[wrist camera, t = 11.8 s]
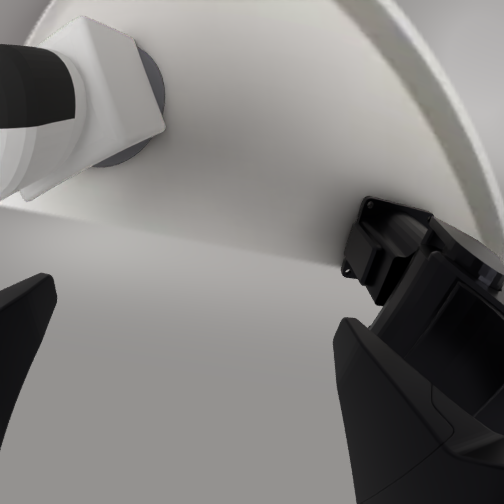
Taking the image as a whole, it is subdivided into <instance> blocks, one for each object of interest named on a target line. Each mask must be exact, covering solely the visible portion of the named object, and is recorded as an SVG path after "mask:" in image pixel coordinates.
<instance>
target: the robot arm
mask: <svg viewBox="0 0 504 504" xmlns="http://www.w3.org/2000/svg"><path fill="white" fill-rule="evenodd" d="M368 202H372V204H371V205H370V206H367V204H368ZM429 216H430V217H429ZM428 217H429V220H427V218H428ZM344 255H345V259H344V262H343V265H342V267H341V273H342V275H343V276H344V277H346V278H354V279H358V280H359V282H360V284H361V285H362V286H366V288H367V290H368V291H369V293H370V295H371V297H372V299H373V300H374V302H375V304H376V305H378V306H383V308H382V310H381V311H380V313H379V314H378V316H377V317H376V319H375V320H374V322H373V323H372V325H371V326H369V327H368V328H367V327H366V326H365V325H363V324H362V323H361V322H360V321H359V320H357V319H356V318H348V317H345V318H343V319H342V320H341V322H340V324H339V327H338V329H337V331H336V333H335V336H334V339H333V350H334V360H335V372H336V383H337V390H338V395H339V400H340V405H341V410H342V416H343V421H344V427H345V433H346V438H347V444H348V450H349V456H350V462H351V468H352V475H353V481H354V488H355V495H356V502H357V504H504V265H503V263H502V261H501V259H500V258H499V257H498V256H497V255H496V254H495V253H493V252H492V251H491V250H490V249H488V248H487V247H486V246H484V245H483V244H482V243H480V242H479V241H478V240H476V239H474V238H473V237H471V236H469V235H467V234H466V233H464V232H462V231H460V230H458V229H456V228H455V227H453V226H451V225H449V224H447V223H445V222H443V221H441V220H439V219H438V218H436V217H434V215H433V214H432V213H431V212H429V211H425V210H421V209H418V208H414V207H410V206H406V205H403V204H399V203H395V202H391V201H387V200H383V199H379V198H375V197H370V196H368V197H365V198H364V199H363V201H362V205H361V208H360V212H359V215H358V218H357V221H356V222H355V223H354V224H353V226H352V229H351V232H350V236H349V239H348V242H347V245H346V248H345V251H344ZM348 269H350V270H349V271H348V272H345V271H346V270H348ZM56 303H57V293H56V289H55V284H54V279H53V277H52V276H51V275H50V274H45V273H39V274H37V275H34V276H32V277H30V278H28V279H25V280H23V281H21V282H19V283H16V284H14V285H12V286H10V287H7V288H5V289H3V290H1V291H0V448H1V445H2V442H3V439H4V436H5V432H6V429H7V426H8V423H9V420H10V417H11V414H12V412H13V409H14V406H15V403H16V401H17V398H18V395H19V393H20V390H21V388H22V385H23V383H24V381H25V378H26V376H27V373H28V371H29V369H30V366H31V364H32V362H33V360H34V357H35V355H36V353H37V351H38V349H39V347H40V344H41V342H42V340H43V337H44V335H45V331H46V329H47V326H48V324H49V321H50V318H51V316H52V313H53V311H54V308H55V306H56ZM0 450H1V449H0Z"/></svg>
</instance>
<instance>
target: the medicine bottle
mask: <svg viewBox="0 0 504 504" xmlns="http://www.w3.org/2000/svg"><path fill="white" fill-rule="evenodd" d="M165 128H166V125H165V122H164V120H163V117H162V115H161V112H160V109H159V107H158V104H157V101H156V99H155V96H154V93H153V91H152V88H151V85H150V83H149V80H148V77H147V75H146V72H145V69H144V66H143V64H142V61H141V58H140V55H139V52H138V50H137V47H136V44H135V41H134V39H133V38H132V37H130V36H128V35H126V34H124V33H122V32H120V31H118V30H116V29H113V28H111V27H109V26H107V25H105V24H102V23H100V22H98V21H95V20H93V19H91V18H88V17H86V16H79V17H77V18H75V19H74V20H72V21H71V22H69V23H68V24H66V25H65V26H63V27H62V28H61V29H59V30H58V31H56V32H55V33H54V34H52V35H51V36H50V37H48V38H47V39H46V40H44V41H43V42H42V43H40V44H39V45H38V46H37V47H29V46H18V45H5V44H0V201H1V200H3V199H5V198H7V197H8V196H10V195H12V194H14V193H15V192H17V191H20V193H21V195H22V198H23V199H24V201H26V202H28V201H31V200H33V199H35V198H36V197H38V196H40V195H41V194H43V193H45V192H46V191H48V190H50V189H51V188H53V187H55V186H57V185H58V184H60V183H62V182H64V181H65V180H67V179H69V178H71V177H73V176H75V175H76V174H78V173H80V172H82V171H84V170H86V169H88V168H89V167H91V166H93V165H95V164H97V163H99V162H101V161H103V160H104V159H106V158H108V157H110V156H112V155H114V154H116V153H118V152H120V151H122V150H124V149H126V148H129V147H131V146H133V145H135V144H137V143H139V142H141V141H144V140H146V139H148V138H150V137H152V136H155V135H157V134H159V133H162V132H163V131H164V130H165Z"/></svg>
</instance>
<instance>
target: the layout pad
mask: <svg viewBox="0 0 504 504" xmlns="http://www.w3.org/2000/svg"><path fill="white" fill-rule="evenodd" d="M137 50H138V52H139V55H140V58H141V61H142V64H143V66H144V69H145V72H146V75H147V77H148V80H149V83H150V85H151V88H152V91H153V93H154V96H155V99H156V101H157V104H158V107H159V109H160V112H161V115H162V114H163V109H164V100H165V92H164V84H163V79H162V76H161V73H160V71H159V69H158V67H157V65H156V63H155V62H154V61H153V59H152V58H151V57H150V56H149V55H148V54H147V53H146V52H144V51H143V50H142V49H140V48H138V47H137ZM151 138H152V137H150V138H148V139H146V140H144V141H141V142H139V143H137V144H135V145H133V146H131V147H129V148H126V149H124V150H122V151H120V152H118V153H116V154H114V155H112V156H110V157H108V158H106V159H104V160H103V161H101V162H99V163H97V164H95V165H93V166H92V167H108V166H113V165H117V164H120V163H122V162H124V161H126V160H128V159H130V158H131V157H133V156H134V155H136V154H137V153H138V152H139V151H141V150H142V149H143V148H144V147H145V146H146V144H147V143H148V142H149V141H150V139H151Z"/></svg>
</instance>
